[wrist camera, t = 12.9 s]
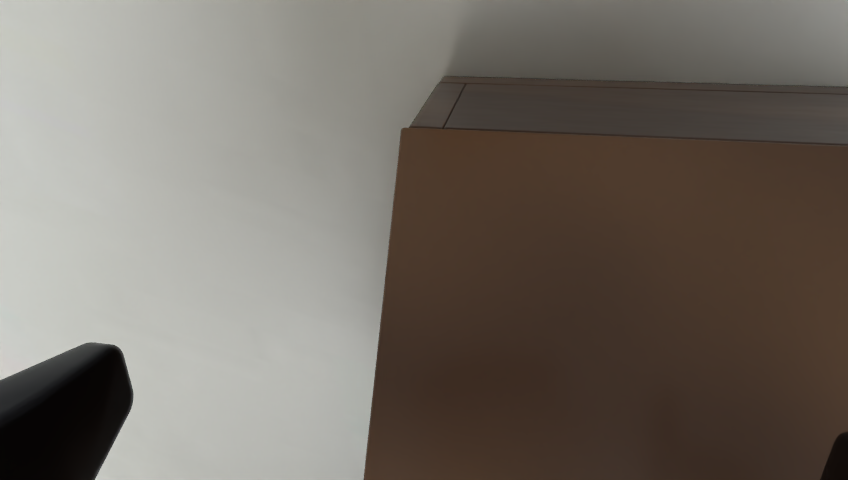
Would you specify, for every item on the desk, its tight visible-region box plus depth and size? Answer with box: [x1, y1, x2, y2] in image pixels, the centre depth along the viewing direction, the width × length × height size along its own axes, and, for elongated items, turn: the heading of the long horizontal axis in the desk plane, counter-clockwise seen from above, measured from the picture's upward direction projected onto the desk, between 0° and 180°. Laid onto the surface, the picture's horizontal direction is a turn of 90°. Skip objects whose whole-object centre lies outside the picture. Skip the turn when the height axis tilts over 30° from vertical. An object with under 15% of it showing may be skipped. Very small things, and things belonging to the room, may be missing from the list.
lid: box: [364, 128, 848, 480], centre depth 11 cm, size 12×12×5 cm
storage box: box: [409, 76, 848, 146], centre depth 19 cm, size 12×12×5 cm
